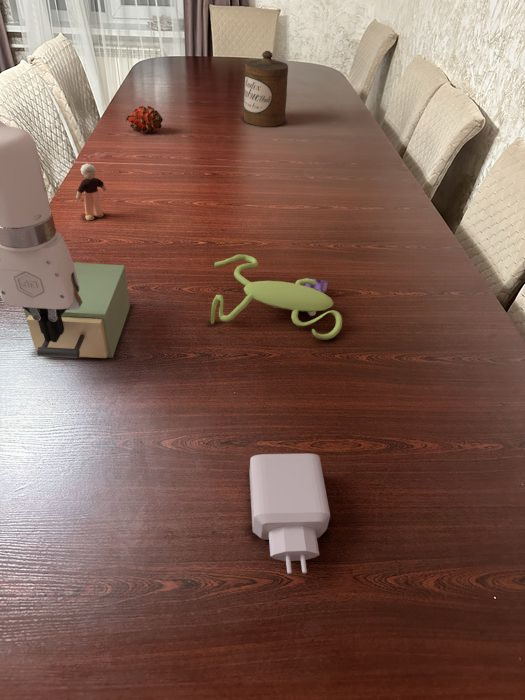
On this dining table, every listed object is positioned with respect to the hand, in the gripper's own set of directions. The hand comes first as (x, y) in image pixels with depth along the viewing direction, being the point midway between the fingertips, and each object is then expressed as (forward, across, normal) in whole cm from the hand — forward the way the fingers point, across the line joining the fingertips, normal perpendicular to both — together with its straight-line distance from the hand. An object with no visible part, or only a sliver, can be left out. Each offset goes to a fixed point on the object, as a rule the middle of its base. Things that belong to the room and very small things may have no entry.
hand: (54, 336), depth 81 cm
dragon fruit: (+5, -12, +114) cm, 115 cm away
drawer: (+6, +1, +6) cm, 8 cm away
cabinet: (+6, +1, +10) cm, 12 cm away
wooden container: (+6, +26, +136) cm, 138 cm away
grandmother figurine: (+6, -10, +53) cm, 54 cm away
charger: (+8, +37, -25) cm, 46 cm away
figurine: (+7, +33, +22) cm, 40 cm away
